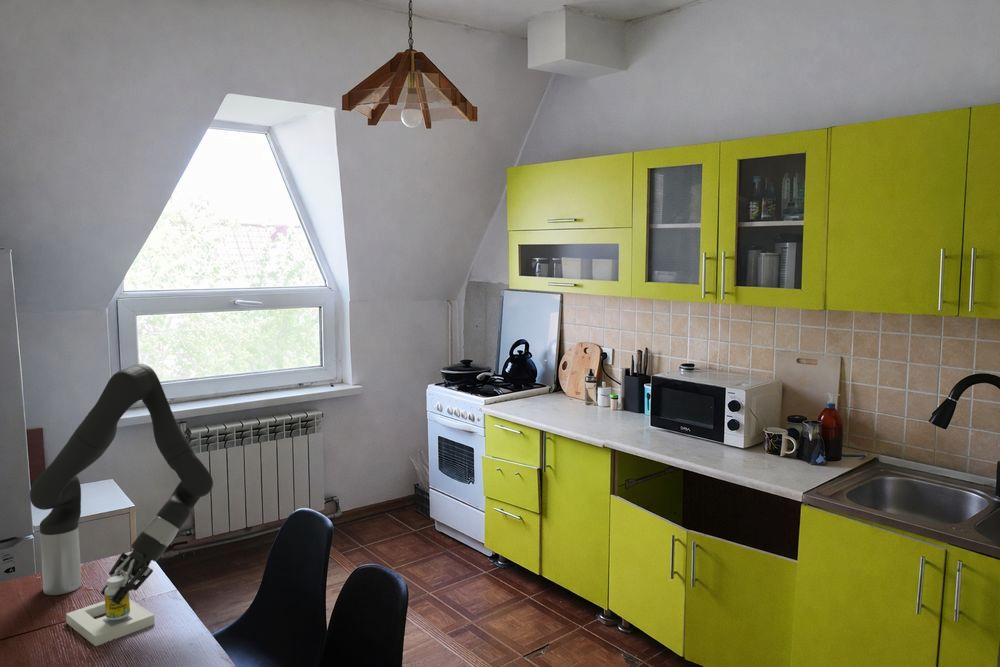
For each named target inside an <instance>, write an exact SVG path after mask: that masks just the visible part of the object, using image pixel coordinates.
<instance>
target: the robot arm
mask: <svg viewBox="0 0 1000 667" xmlns="http://www.w3.org/2000/svg"><path fill="white" fill-rule="evenodd" d="M140 401H142V403H143V404H144V405H145V407H146V409H147V410H148V414H149V416H150V418H151V423H152V431H153V437H154V440H155V441H154V442H155V443H156V444H155V445H156V447H157V448H158V451H159V452H160V454H161V455H162V457H163V458H164V460H165V462H166V463H167V465H168V466H169V468H170V469H171V470H173V471H175V473H176V474H177V477H178V478H179V479H180V481H179V483H178V484H177V486H176V488H175V489H174V491H173V492H172V494H171V496H170V497H169V499H168V500H167V501H166V502H165V503H164V505H163V506H162V507H161V508H160V509H159V511H158V512H157V513H156V514H155V516H154V517H153V518H152V519H151V520H150V521H149V522H148V523H147V524H146V526H145V527H144V528H143V530H142V531H141V532H140V534H139V535H138V536H137V537H136V539H135V540H134V541H133V543H132V544H130V545H131V548H132V549H133V550H132V551H131V553H128V554H126V553H125V552H122V553H121V554H120V555H119V557H118V559H117V560H116V562H115V563H114V565H113V566H112V568H111V569H110V571H109V573H108V575H109V576H110V577H109V578H111V577H113V576H124V577H125V580H124V582H123V584H122V587H120V588H119V589H118V591H117V592H116V593H115V595H114V596H113V597H112V599H111V601H112V602H114V603H116V604H119V603H120V602H121V601H122V599H123V598H124V597H125V595H126V594H127V593H128V592H129V593H130V592H131V591H135V592H136V591H137V590H138V589H139V588H140V587H141V586H142V585H143V584H144V583H145V581H147V579H148V578H149V577H150V576H151V575H152V573H153V572H154V570H153V569H152V568H151V567H150V564H151V563H152V562H157V561H158V560H159V558H161V557H162V555H163V554H164V552H165V551H166V549H168V548H169V545H171V543H172V541H173V540H174V539H175V537H176V536H177V533H178V532H179V530H180V529H181V528H182V526H183V525H184V524H185V522H186V521H187V520H188V519H189V517H190V515H191V513H192V509H193V508H194V506H196V504H197V503H198V501H199V500H200V499H201V498H202V497H205V496H207V495H208V494H209V493H210V492H212V489H213V487H214V481H213V477H212V475H211V473H210V471H209V470H208V468H207V467H206V466H205V465H204V463H203V462H202V461H201V460H200V459H199V457H198V456H197V454H196V453H195V452H194V450H193V448H192V446H191V445H190V443H189V442H188V440H187V437H186V436H185V435H184V433H183V432H182V430H181V428H180V426H179V424H178V422H177V420H176V418H175V416H174V414H173V411H172V409H171V406H170V404H169V401H168V398H167V396H166V393H165V391H164V388H163V386H162V384H161V381H160V378H159V377H158V375H157V373H156V372H155V370H154V369H153V368H152V367H151V366H149V365H147V364H144V363H138V364H137V363H136V364H133V365H131V366H128V367H126V368H123V369H120V370H118V371H117V372H115V373H114V374H113V375H112V376H111V377H110V379H109V380H108V381H107V383H106V385H105V387H104V389H103V391H102V393H101V394H100V397H99V398H98V399H97V402H95V405H94V406H93V407H92V409H91V410H90V411H89V412H88V413H87V415H86V416H85V417H84V419H83V420H82V422H81V423H79V425H78V426H77V428H76V429H75V430H74V431H73V433H72V435H71V436H70V438H69V439H68V441H67V442H66V444H65V445H64V446H63V448H62V449H61V450H60V452H58V454H57V456H55V458H54V459H53V460H52V462H51V463H50V464H49V465H48V466H47V468H45V470H43V471H42V473H41V474H40V475H39V476H38V477H37V478H36V479H35V480H34V482H33V483H32V485H31V487H30V491H29V500H30V503H31V505H32V506H33V507H34V508H36V509H38V510H42V511H44V510H46V511H47V510H51V511H50V512H49V513H48V514H47V516H46V517H44V518H43V519H42V520H41V521H40V523H39V535H40V536H39V537H40V553H41V573H42V574H41V575H42V590H43V591H42V592H43V593H44V595H48V596H59V595H65V594H68V593H71V592H74V591H76V590H78V589H79V588H80V587H81V586H82V571H81V570H82V569H81V551H80V550H81V549H80V532H79V531H80V530H79V529H80V528H79V521H80V518H81V513H82V488H81V487H82V486H81V482H80V480H79V477H78V475H79V474H80V473H82V472H83V471H84V470H86V469H88V468H89V467H90V466H91V465H92V464H94V463H96V462H97V461H98V460H99V459H100V458H101V457H102V456H103V455H104V454H105V453H106V451H107V449H108V448H109V447H110V445H112V443H113V441H114V439H115V437H116V434H117V431H118V430H117V429H118V424H119V422H120V420H121V418H122V417H123V415H124V414H125V413H126V412H127V411H128V410H129V409H130V408H131V407H132V406H133V405H134V404H136V403H138V402H140ZM107 587H108V586H107V584H105V586H104V587H103V588H102V590H101V591H100V594H101V595H102V596H103V597H105V593H104V592H105V589H106V588H107Z"/></svg>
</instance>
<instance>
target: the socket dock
mask: <svg viewBox="0 0 1000 667" xmlns="http://www.w3.org/2000/svg"><path fill="white" fill-rule="evenodd" d="M129 602H130V613H129V615H128V616H126V617H124V618H122V619H118V620H109V619H107V618H106V615H105V614H106V609H105V600H103V601H100V602H97V603H94V604H90V605H88V606H85V607H82V608H79V609H78V608H77V609H75V610H73V611H69V612H67V613H65V617H66V624H67V625H68V626H70V628H73V630H75V632H77V633H78V634H80V635H81V636H82V637H83V638H85V639H86V640H87V641H88V642H89V643H91V644H92V645H93V646H94V647H97V646H101V645H103V644H106V643H109V642H111V641H114V640H116V639H119V638H123V637H124V636H127V635H130V634H132V633H135V632H138V631H140V630H143V629H146V628H148V627H151V626H154V625H155V624H156V623H155V613H152V612H150V610H147V609H146V608H145V607H143V606H141V605H140V604H139V603H137V602H135V601H134V600H132V599H131V598H129ZM102 615H104V616H102ZM99 616H101V617H99ZM95 617H98V618H95ZM113 639H114V640H113ZM108 641H109V642H108Z"/></svg>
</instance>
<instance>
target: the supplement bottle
mask: <svg viewBox="0 0 1000 667" xmlns="http://www.w3.org/2000/svg"><path fill="white" fill-rule="evenodd" d="M110 577H111V576H110ZM110 577H109V578H107V579H106V585H107V586H108V587H107V588H106V589H105V592H104V593H105V596H104V601H105V609H106V613H105V616H106V618H107V619H109V620H118V619H122V618H124V617H126V616H128V615H129V613H130V602H129V599H130V591H129V592H128V593H127V594H126V595H125V597H124V598H123V599H122V601H121V602H120V603H119V604H116V603H114V602H112V601H111V599H112V597H113V596H114V595H115V593H116V592H117V591H118V589H119V588H120V587H122V584H123V582H124V580H125V577H124V576H121V575H120V576H113V577H111V578H110Z"/></svg>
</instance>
